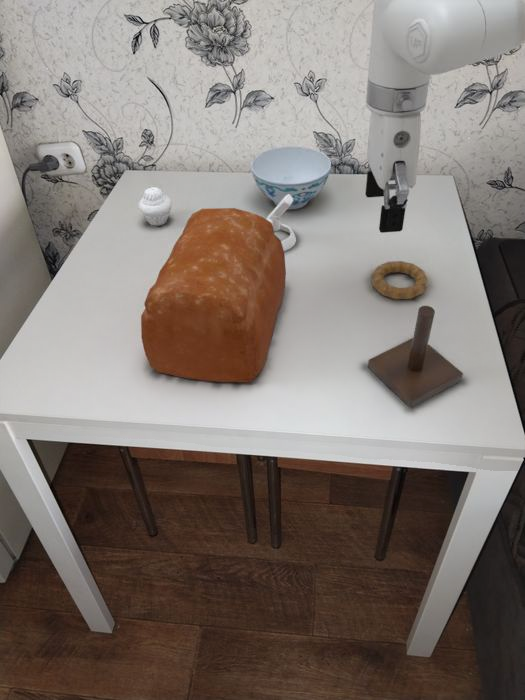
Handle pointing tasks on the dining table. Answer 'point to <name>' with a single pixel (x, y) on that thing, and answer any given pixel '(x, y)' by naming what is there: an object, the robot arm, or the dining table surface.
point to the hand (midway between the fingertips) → (382, 212)
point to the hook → (277, 226)
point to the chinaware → (291, 173)
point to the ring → (395, 291)
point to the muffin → (155, 206)
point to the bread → (216, 298)
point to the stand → (416, 365)
